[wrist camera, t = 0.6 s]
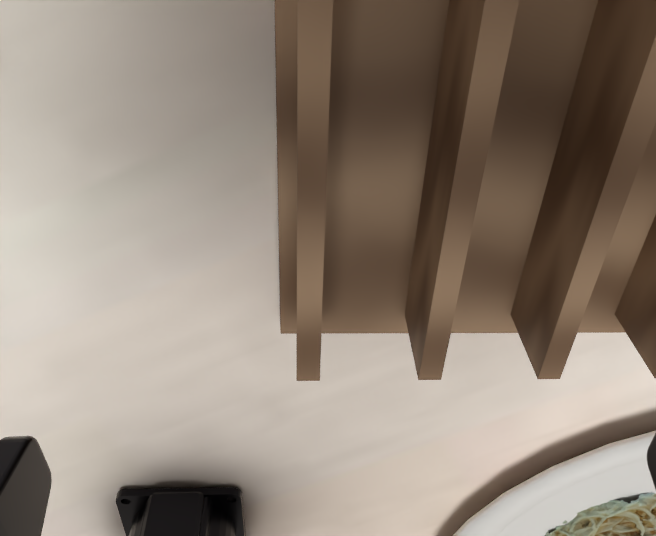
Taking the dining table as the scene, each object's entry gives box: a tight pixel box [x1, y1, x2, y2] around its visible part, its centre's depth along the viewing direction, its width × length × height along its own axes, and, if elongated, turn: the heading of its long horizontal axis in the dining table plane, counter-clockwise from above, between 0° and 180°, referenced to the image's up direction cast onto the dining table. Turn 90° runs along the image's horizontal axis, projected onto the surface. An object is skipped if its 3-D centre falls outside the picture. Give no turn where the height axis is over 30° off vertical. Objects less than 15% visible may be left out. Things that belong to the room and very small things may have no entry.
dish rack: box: [275, 0, 656, 381], centre depth 19 cm, size 18×15×4 cm
